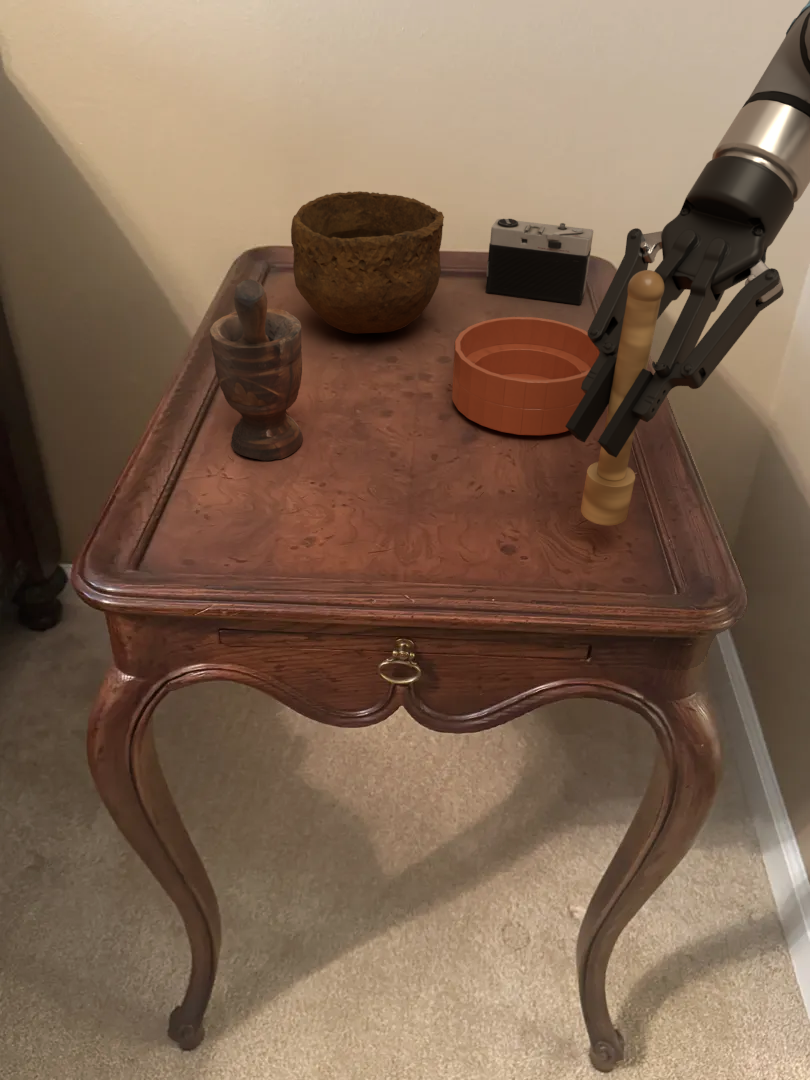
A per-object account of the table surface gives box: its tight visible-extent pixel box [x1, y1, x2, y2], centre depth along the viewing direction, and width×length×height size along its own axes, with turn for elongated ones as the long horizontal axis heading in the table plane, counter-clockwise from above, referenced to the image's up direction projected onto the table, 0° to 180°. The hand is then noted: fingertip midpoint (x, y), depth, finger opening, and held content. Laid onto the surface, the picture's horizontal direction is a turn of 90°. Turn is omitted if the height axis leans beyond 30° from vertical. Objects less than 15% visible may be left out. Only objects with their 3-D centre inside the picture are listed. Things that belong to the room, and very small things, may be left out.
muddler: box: [580, 269, 664, 527], centre depth 70 cm, size 4×4×21 cm
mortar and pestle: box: [209, 278, 303, 462], centre depth 85 cm, size 12×9×20 cm
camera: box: [485, 218, 594, 306], centre depth 124 cm, size 14×9×10 cm, turn 65°
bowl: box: [290, 190, 445, 334], centre depth 111 cm, size 19×19×15 cm
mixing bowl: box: [451, 316, 599, 436], centre depth 98 cm, size 16×16×7 cm
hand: (591, 441), depth 69 cm, fingers closed on muddler, 2 cm apart
